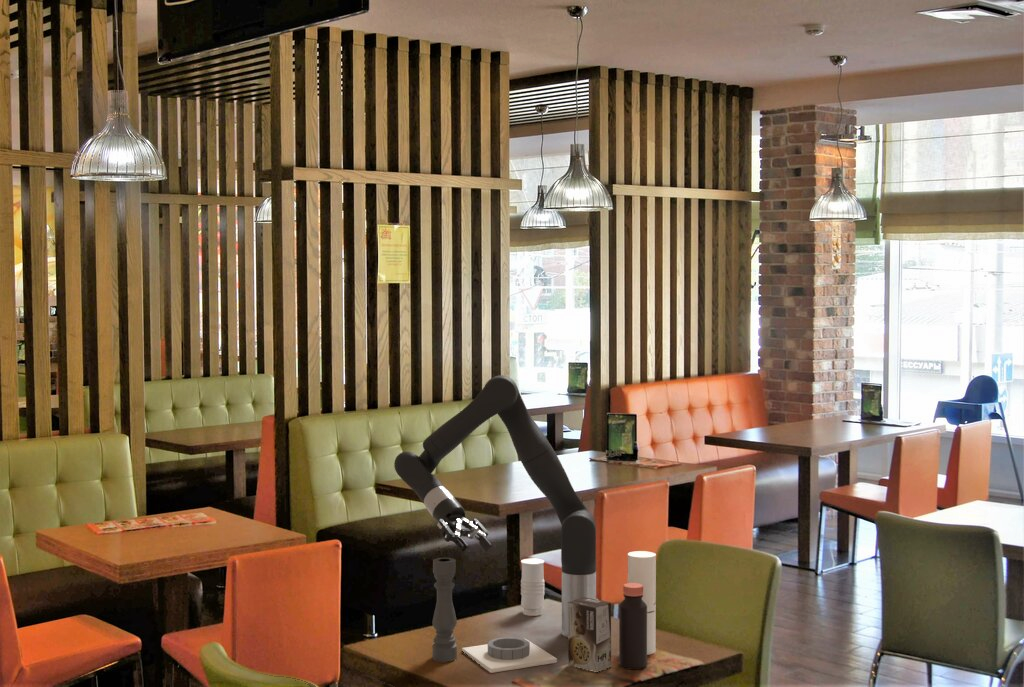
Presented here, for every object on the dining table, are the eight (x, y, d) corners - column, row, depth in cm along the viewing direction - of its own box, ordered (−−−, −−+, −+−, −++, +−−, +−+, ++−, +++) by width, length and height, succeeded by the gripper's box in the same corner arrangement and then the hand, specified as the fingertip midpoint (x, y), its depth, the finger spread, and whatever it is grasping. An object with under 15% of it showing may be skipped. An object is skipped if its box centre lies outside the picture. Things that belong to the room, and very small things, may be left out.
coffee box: (612, 667, 278) (612, 602, 278) (596, 673, 273) (596, 607, 273) (583, 659, 284) (583, 595, 284) (567, 665, 280) (566, 601, 279)
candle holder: (453, 663, 282) (453, 563, 280) (429, 661, 283) (429, 562, 282) (459, 655, 288) (459, 557, 286) (436, 653, 289) (435, 556, 288)
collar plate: (525, 642, 298) (525, 629, 298) (556, 662, 282) (556, 648, 282) (462, 651, 290) (462, 638, 290) (490, 672, 274) (490, 658, 274)
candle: (549, 612, 326) (549, 561, 325) (533, 617, 321) (533, 565, 320) (532, 608, 331) (532, 557, 330) (515, 613, 326) (515, 561, 325)
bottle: (629, 671, 275) (629, 590, 274) (613, 663, 281) (614, 583, 280) (652, 667, 278) (652, 586, 277) (636, 659, 284) (637, 580, 283)
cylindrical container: (659, 648, 293) (659, 552, 292) (650, 656, 286) (650, 558, 285) (632, 644, 296) (633, 550, 295) (623, 652, 289) (623, 555, 288)
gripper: (431, 496, 289) (465, 539, 280) (469, 496, 300) (504, 537, 290) (417, 518, 292) (451, 562, 282) (456, 518, 302) (490, 559, 293)
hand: (478, 549), depth 286 cm, fingers open, 8 cm apart
